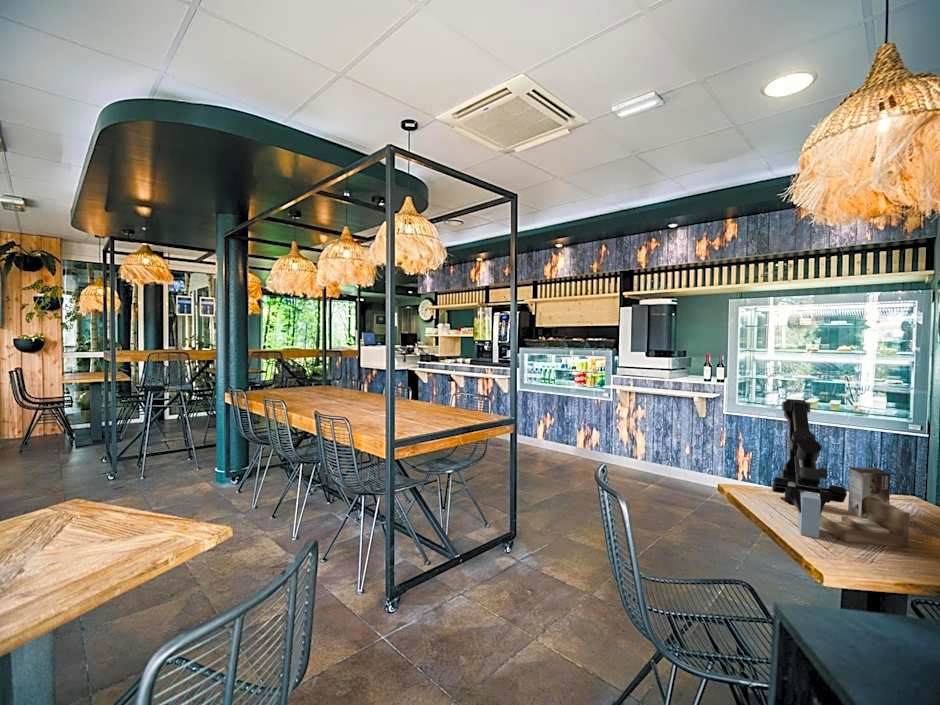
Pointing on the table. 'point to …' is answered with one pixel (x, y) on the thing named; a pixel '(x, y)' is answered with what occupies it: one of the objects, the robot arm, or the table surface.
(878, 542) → the book rack
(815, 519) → the blue-gray rectangular box
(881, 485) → the coffee box
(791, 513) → the table surface
